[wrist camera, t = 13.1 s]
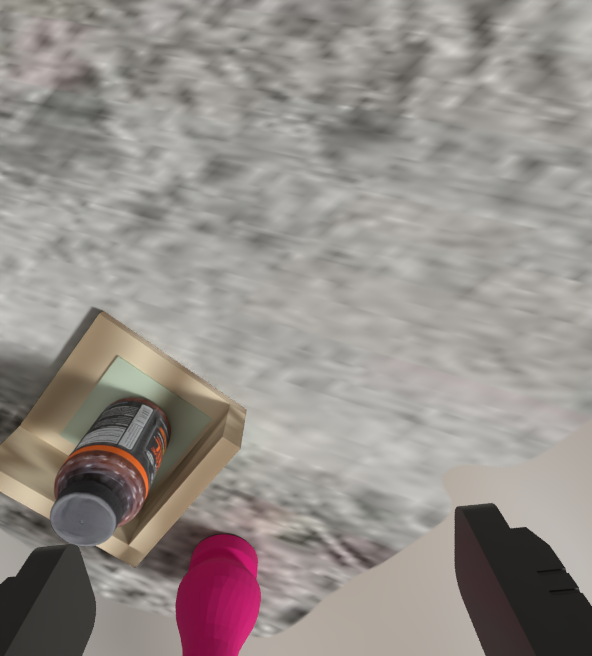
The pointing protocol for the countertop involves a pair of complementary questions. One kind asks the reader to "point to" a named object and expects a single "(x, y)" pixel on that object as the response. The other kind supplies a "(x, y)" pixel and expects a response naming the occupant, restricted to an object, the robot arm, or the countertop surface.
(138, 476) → the supplement bottle
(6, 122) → the countertop surface
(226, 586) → the pepper mill
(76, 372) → the tray
